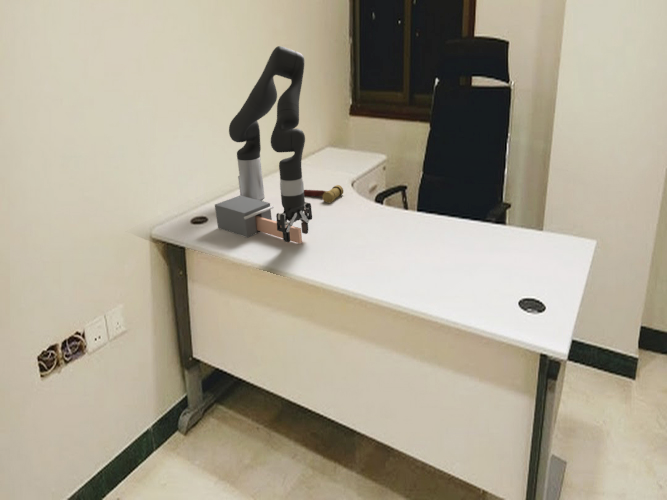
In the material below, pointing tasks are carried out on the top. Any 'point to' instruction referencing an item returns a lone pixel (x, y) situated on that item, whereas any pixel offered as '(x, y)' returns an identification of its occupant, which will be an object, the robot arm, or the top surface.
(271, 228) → the ticket strip
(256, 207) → the dispenser
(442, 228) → the top surface
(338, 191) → the gavel
